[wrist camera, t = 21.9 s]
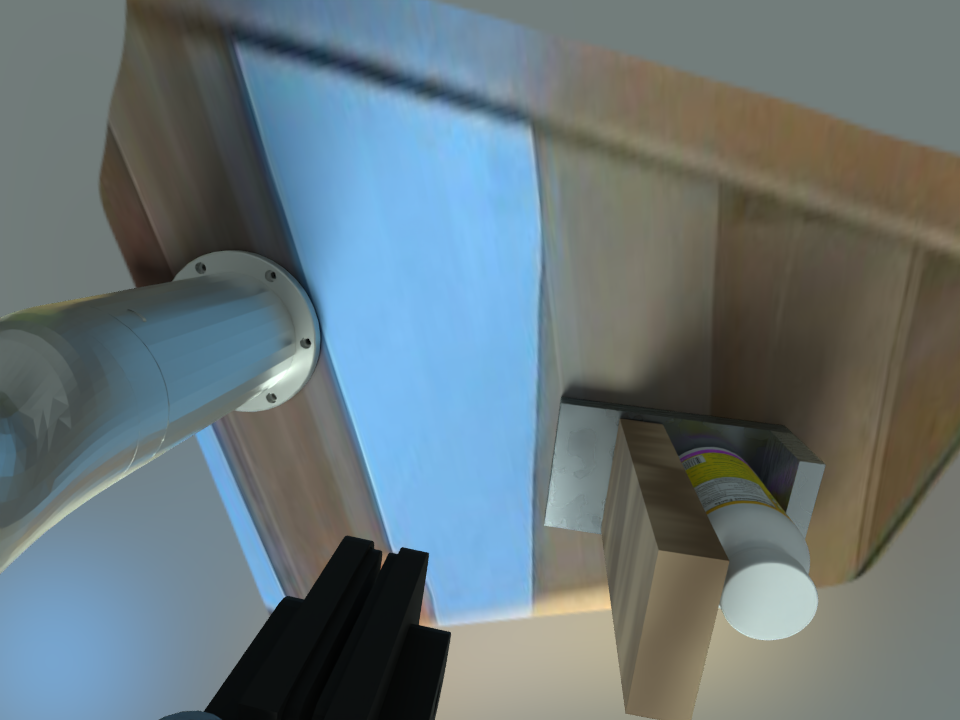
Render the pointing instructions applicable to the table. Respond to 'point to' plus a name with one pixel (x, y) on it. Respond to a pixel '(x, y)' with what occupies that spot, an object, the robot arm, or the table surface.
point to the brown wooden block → (659, 573)
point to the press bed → (761, 445)
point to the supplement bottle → (753, 547)
